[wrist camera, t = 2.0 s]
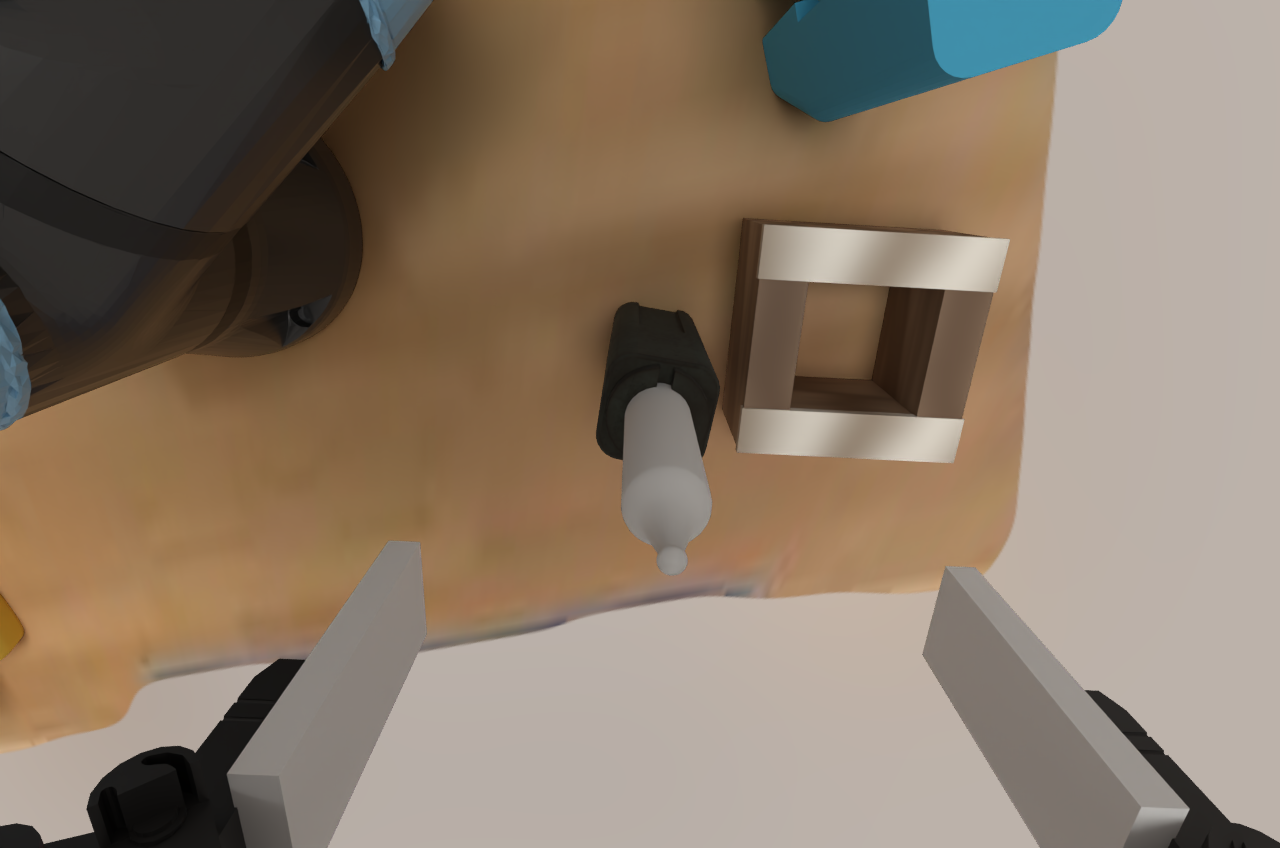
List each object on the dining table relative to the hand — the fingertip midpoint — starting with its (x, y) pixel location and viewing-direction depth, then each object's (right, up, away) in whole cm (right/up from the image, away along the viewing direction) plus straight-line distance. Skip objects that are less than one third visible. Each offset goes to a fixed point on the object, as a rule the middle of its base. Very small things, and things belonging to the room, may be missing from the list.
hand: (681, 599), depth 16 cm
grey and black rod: (0, +9, +25) cm, 26 cm away
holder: (+11, +11, +24) cm, 28 cm away
